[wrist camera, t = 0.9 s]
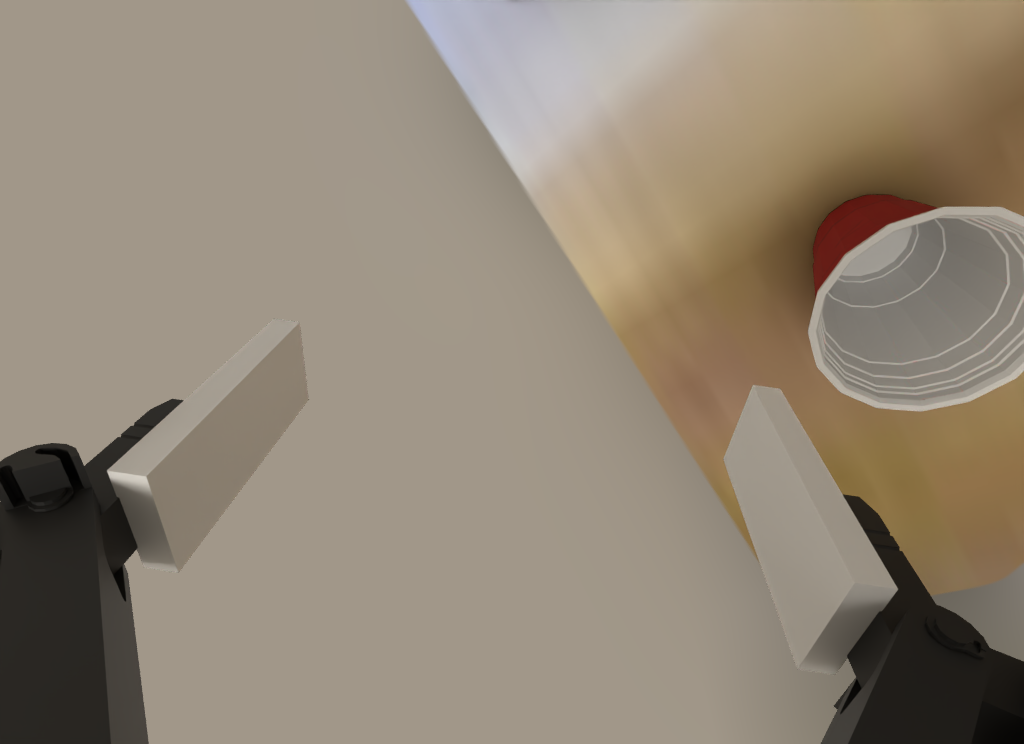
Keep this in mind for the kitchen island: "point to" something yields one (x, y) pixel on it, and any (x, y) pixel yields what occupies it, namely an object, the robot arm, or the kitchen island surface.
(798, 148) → the kitchen island surface
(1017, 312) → the plastic cup
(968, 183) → the kitchen island surface
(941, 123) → the kitchen island surface
